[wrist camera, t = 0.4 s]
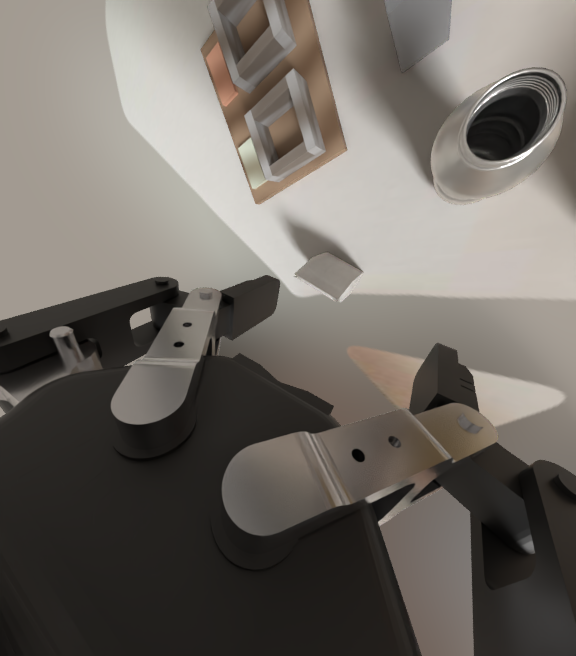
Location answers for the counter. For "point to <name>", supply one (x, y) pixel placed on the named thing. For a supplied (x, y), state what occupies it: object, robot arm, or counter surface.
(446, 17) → the plug
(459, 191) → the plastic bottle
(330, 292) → the small milk carton
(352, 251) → the counter surface
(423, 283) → the counter surface
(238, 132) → the socket board
